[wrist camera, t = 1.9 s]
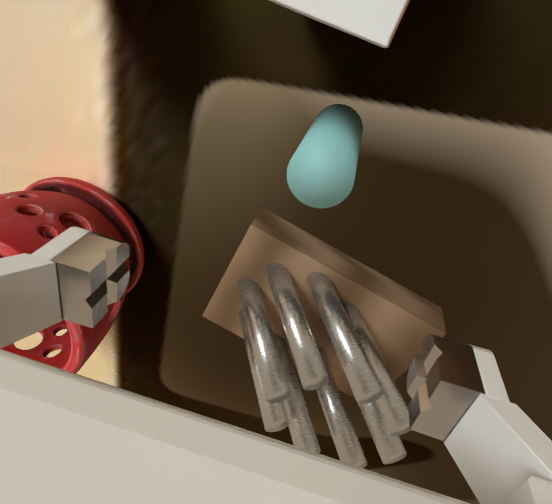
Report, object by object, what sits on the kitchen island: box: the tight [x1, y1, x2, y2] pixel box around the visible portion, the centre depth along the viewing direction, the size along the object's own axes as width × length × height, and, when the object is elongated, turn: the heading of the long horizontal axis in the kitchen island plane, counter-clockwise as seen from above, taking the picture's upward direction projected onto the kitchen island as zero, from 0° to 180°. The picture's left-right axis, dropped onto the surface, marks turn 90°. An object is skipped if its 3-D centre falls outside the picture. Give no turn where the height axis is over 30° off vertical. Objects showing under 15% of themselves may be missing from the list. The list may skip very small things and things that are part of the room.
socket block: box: [202, 208, 446, 398], centre depth 33 cm, size 16×10×3 cm, turn 63°
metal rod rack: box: [237, 262, 410, 468], centre depth 29 cm, size 15×9×11 cm, turn 63°
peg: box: [287, 104, 363, 208], centre depth 23 cm, size 3×3×9 cm
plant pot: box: [0, 177, 144, 374], centre depth 31 cm, size 13×13×12 cm
